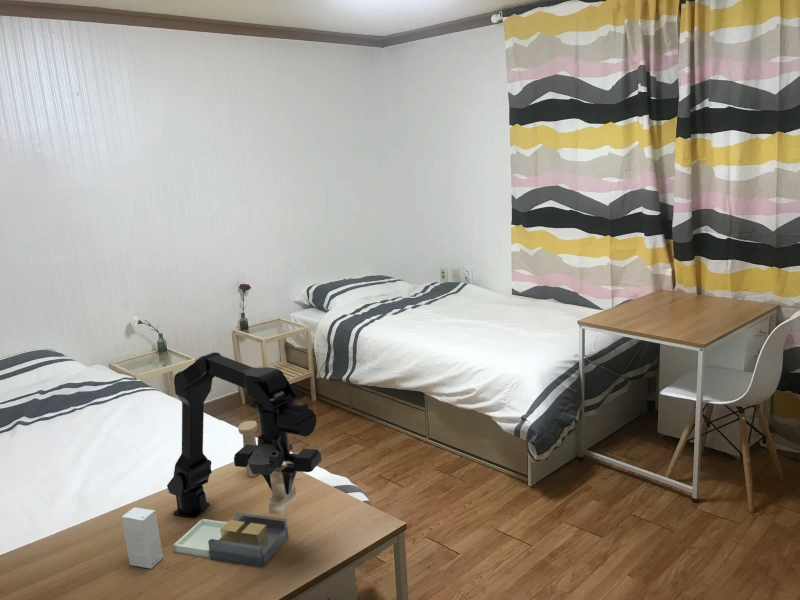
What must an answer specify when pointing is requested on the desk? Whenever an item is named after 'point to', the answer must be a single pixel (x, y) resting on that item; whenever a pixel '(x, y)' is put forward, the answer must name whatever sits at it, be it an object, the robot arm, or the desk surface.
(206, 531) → the tray
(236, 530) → the wooden block
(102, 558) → the desk surface
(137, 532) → the skincare box
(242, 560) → the slot rail
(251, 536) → the chip
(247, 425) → the handle
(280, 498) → the pale step bench
